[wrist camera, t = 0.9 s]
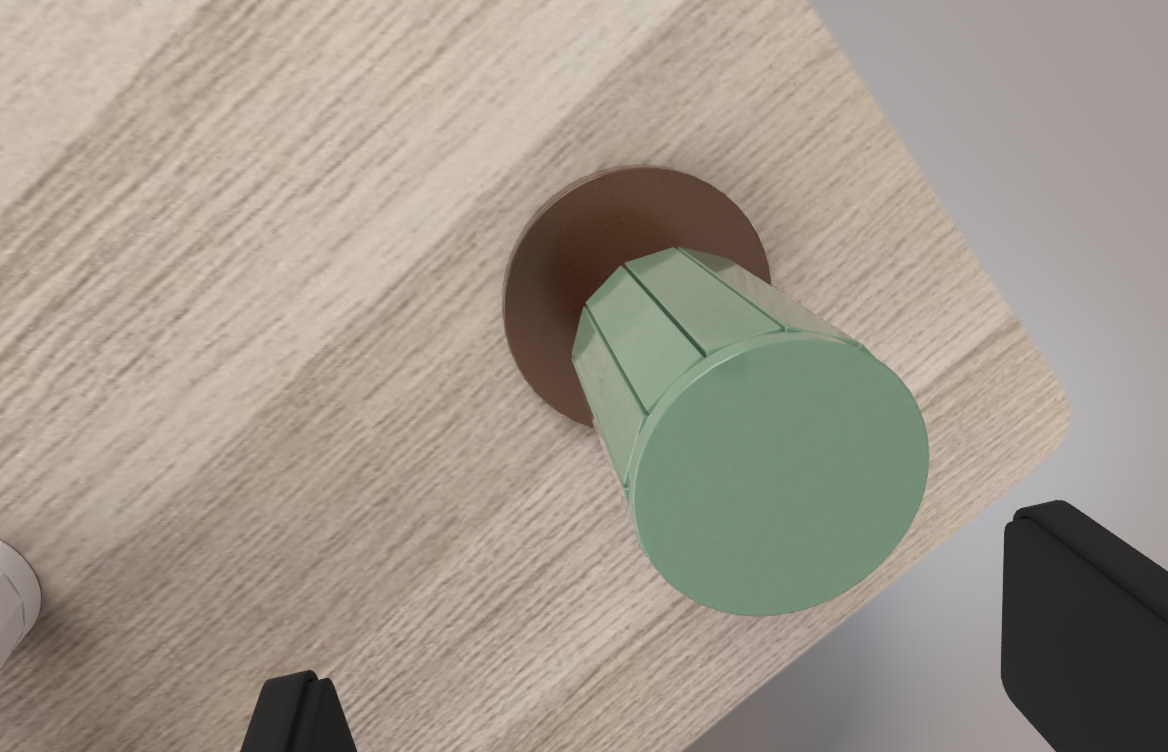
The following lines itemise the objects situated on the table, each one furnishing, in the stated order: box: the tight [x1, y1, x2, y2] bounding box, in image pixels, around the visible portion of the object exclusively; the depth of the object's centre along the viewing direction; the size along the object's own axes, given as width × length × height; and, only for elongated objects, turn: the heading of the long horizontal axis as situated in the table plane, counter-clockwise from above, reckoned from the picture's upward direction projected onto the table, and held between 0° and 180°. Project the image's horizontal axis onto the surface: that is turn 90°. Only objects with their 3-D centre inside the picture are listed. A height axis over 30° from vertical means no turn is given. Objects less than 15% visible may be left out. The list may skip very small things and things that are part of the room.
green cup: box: [572, 247, 929, 616], centre depth 22 cm, size 7×7×10 cm
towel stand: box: [502, 165, 771, 428], centre depth 26 cm, size 11×11×16 cm
